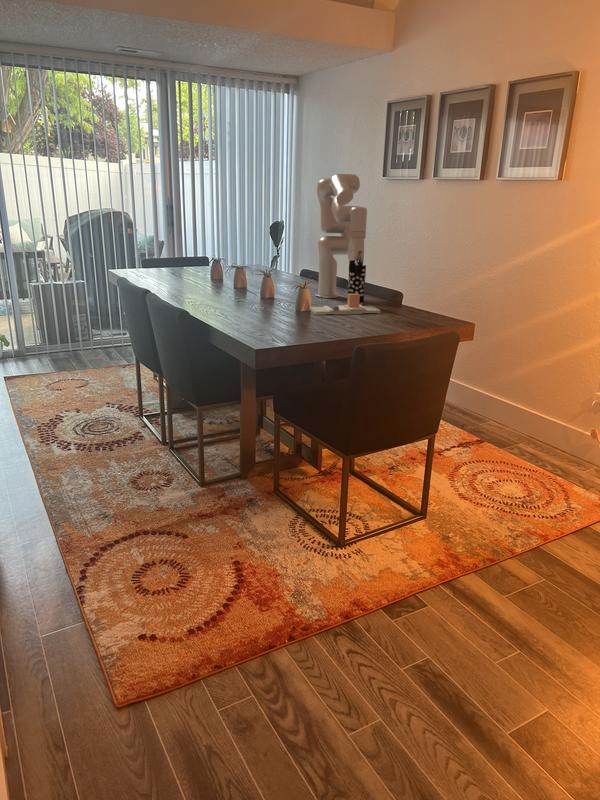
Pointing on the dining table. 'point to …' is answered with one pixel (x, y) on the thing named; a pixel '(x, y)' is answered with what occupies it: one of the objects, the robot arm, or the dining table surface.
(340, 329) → the dining table surface
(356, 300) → the stub
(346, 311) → the ticket board
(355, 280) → the white-spotted black cylinder
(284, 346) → the dining table surface
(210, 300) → the dining table surface
